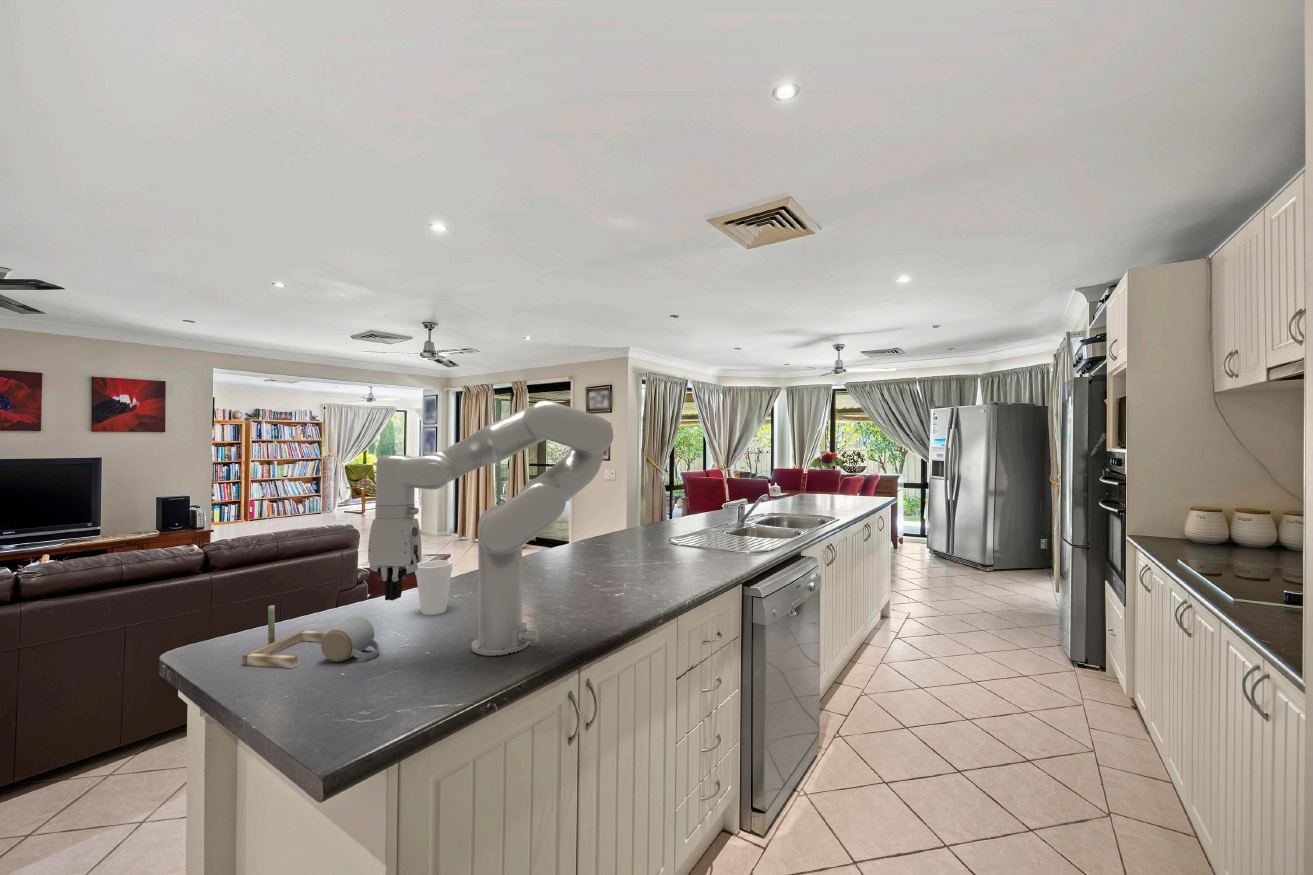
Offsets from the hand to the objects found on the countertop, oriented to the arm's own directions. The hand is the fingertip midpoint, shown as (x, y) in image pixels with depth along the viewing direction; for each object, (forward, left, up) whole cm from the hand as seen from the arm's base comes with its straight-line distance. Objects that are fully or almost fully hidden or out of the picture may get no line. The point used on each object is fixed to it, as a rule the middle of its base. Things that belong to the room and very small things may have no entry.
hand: (393, 598), depth 118 cm
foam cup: (+10, -32, -13) cm, 36 cm away
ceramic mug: (+10, 0, -13) cm, 16 cm away
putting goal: (+23, 0, -13) cm, 27 cm away
